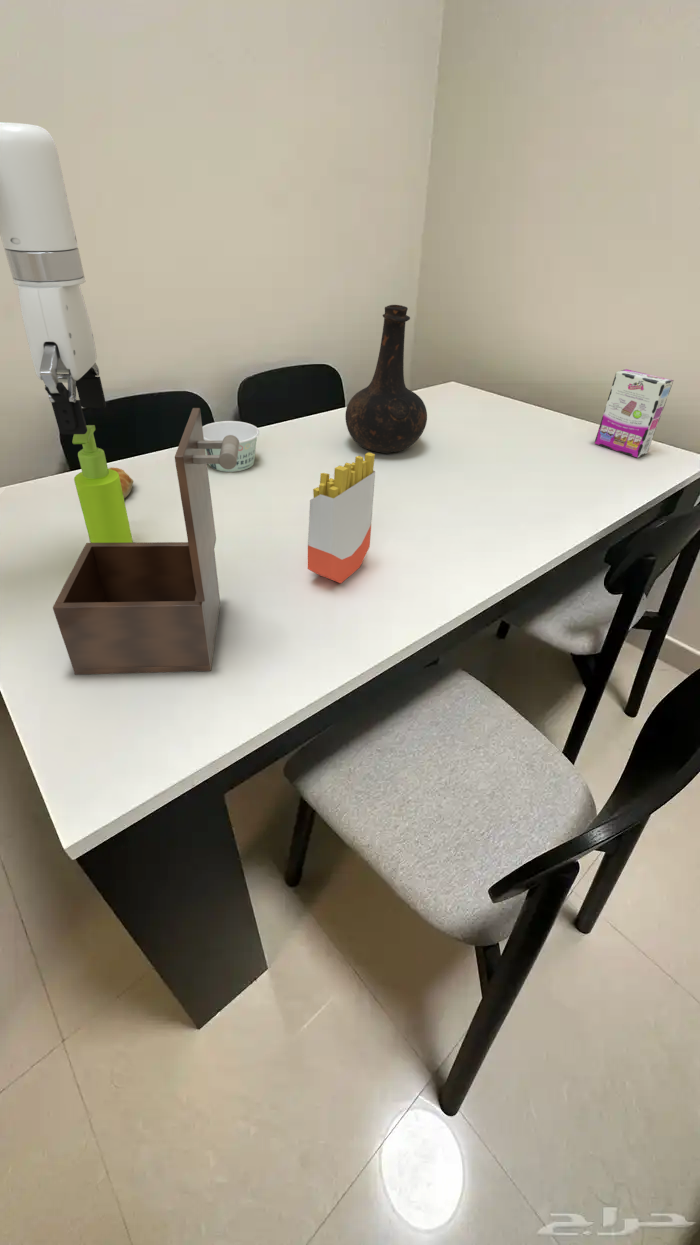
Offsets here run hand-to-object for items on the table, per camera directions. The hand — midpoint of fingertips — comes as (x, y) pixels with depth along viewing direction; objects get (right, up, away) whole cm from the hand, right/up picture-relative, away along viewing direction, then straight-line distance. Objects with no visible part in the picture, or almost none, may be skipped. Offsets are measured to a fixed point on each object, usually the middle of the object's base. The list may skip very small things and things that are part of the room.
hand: (84, 419), depth 76 cm
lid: (+18, -13, -12) cm, 25 cm away
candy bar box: (+98, +14, +60) cm, 116 cm away
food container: (+10, +6, +43) cm, 45 cm away
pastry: (-8, -3, +30) cm, 31 cm away
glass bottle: (+42, +13, +55) cm, 70 cm away
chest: (+9, -28, -1) cm, 30 cm away
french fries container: (+33, -19, +13) cm, 40 cm away
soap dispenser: (-1, -17, +13) cm, 21 cm away
